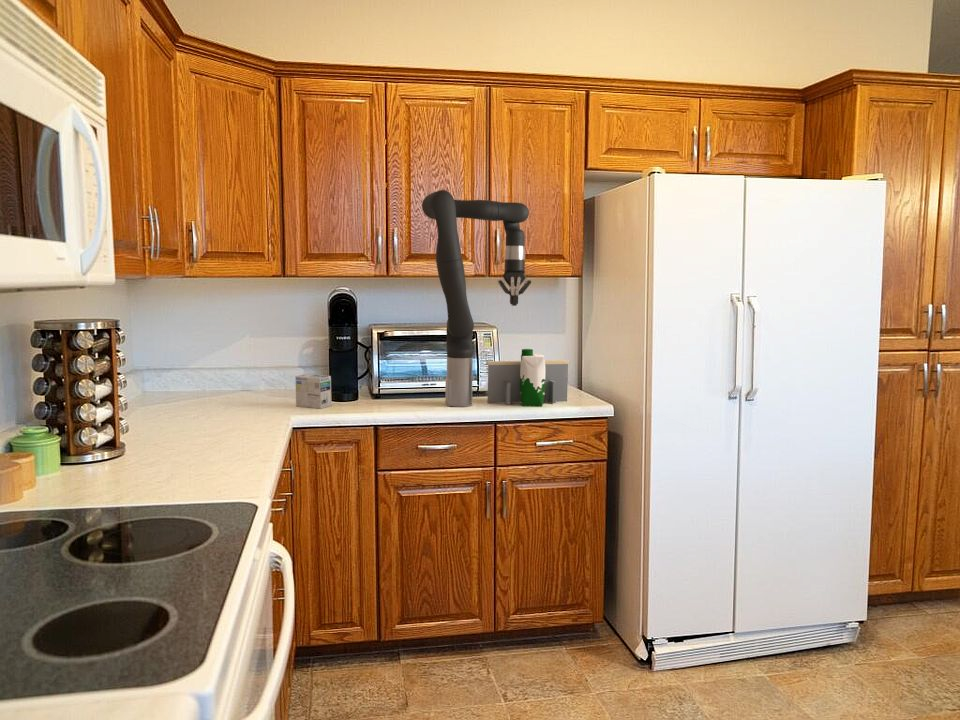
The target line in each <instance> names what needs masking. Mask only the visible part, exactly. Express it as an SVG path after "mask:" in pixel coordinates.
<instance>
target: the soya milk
mask: <svg viewBox="0 0 960 720" xmlns="http://www.w3.org/2000/svg"><path fill="white" fill-rule="evenodd" d="M520 361H521V367H520V395H521V401H522V402H521V406H522V407H543V404H544V402H543V399H544V394H545V361H546V358H545V356H544V354H539V353H534V349H531V348H523V349H521V355H520Z"/></svg>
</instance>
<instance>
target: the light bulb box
mask: <svg viewBox="0 0 960 720" xmlns="http://www.w3.org/2000/svg"><path fill="white" fill-rule="evenodd" d="M295 405H296V407H303V408H311V409H321V410H322V409H324V408H328V407H330V406H332V376H331V375H322V374H321V375H320V374H310V373H305V374H300V375H295Z"/></svg>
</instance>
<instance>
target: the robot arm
mask: <svg viewBox="0 0 960 720" xmlns="http://www.w3.org/2000/svg"><path fill="white" fill-rule="evenodd" d="M421 203H422V204H421V208H422V209H421V210H422V213H424V214H425V215H424V216H426V218H429V219H431V220H435V223H436V229H437V243H436V250H435V262H436V268H437V274H438V279H439V282H440V283H439V284H440V287H441V289H442V291H443V294H444V299H445V303H446V310H447V321H446V377H445V392H444V393H445V394H444V395H445V396H444V397H445V399H444V400H445V401H444V402H445V404H446V406H449V407H470V406H472V405H473V369H474V368H473V367H474V366H473V365H474V361H473V360H474V358H473V357H474V356H473V355H474V350H473V331H474V327H475V324H474V323H475V322H474V319H473V316H472V314H471V309H470V306H469V301H468V295H467V285H466V284H467V283H466V273H465V266H464V261H463V256H462V251H461V249H462V248H461V244H460V237H459V233H458V225H457V224H458V221H457V219H458V218H461V219H471V220H480V221H481V220H482V221H490V222H501V221H502V223H503V227H504V229H503V230H504V232H505V246H504V247H505V249H504V271H503V275H502V278H500V279H498V280H497V285H499V287H500V288H501V289H502V291H503V292H504V293H505V294H507V295H509V303H510V305H511V306H513V307H514V306H517V305H518V304H519V296H520V295H521V294H522V295H523V294H524V292H526V290H527V289H528V288H529V286H530V285H531V283H532V280H530V279H528V278H527V275H526V272H525V271H526V269H525V268H526V248H525V244H526V243H525V240H526V239H525V238H526V237H525V236H526V235H525V232H524V230H522V229H521V227H520V223H524V222H525V221H526V220H527V219H528V218H529V216H530V210H529V207H527V205H526V204H524V203H522V202H511V201H510V202H503V201H497V200H489V199H488V200H487V199H474V200H473V199H464V200H463V199H455V198H454V197H453V195H452V194H451V193H450V191H448V190H445V189H440V190H437V191H434V192H432V193H429V194H427V195H426V196H425V197H424V198H423V200H422V202H421ZM505 283H506V284H507V285H506V284H505ZM522 284H523V285H522ZM521 285H522V286H521ZM507 286H508V288H507ZM520 287H521V288H520Z"/></svg>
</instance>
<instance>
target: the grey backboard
mask: <svg viewBox="0 0 960 720" xmlns="http://www.w3.org/2000/svg"><path fill="white" fill-rule="evenodd" d="M485 364H486V365H487V369H488V370H487V403H488V404H503V403H504V404H505V405H506V406H510V405H511V403H522V401H521V395H520V367H521V360H498V361H497V360H490V361H489V360H488V361H487V360H486V361H485ZM569 365H570V360H568V359H565V360H559V359H557V360H545V394H544V399H543V403H544V402H547V403H550V402H551V403H550V404H552V403H556V402H567V401H568V385H569V384H568V382H569V381H568V378H569ZM556 404H557V403H556Z"/></svg>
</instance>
